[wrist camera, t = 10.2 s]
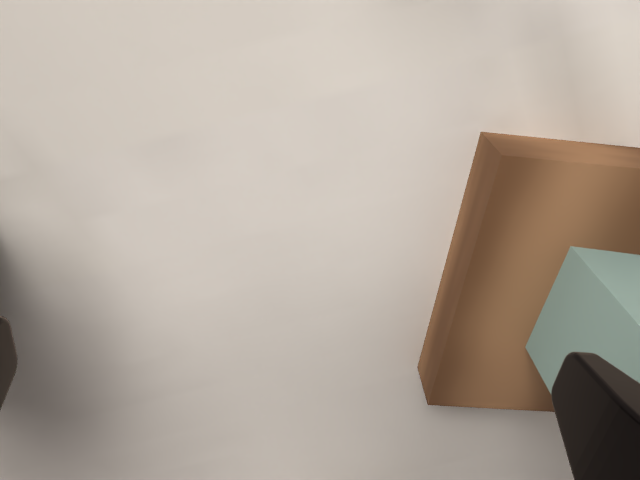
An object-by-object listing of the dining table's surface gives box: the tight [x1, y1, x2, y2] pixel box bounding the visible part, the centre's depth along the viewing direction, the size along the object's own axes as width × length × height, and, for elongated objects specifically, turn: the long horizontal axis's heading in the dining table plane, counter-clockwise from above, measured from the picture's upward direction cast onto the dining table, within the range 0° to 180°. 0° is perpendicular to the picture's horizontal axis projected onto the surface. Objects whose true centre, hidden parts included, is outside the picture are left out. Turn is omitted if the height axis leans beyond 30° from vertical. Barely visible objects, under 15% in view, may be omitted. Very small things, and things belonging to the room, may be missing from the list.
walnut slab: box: [418, 132, 640, 412], centre depth 23 cm, size 12×12×3 cm
